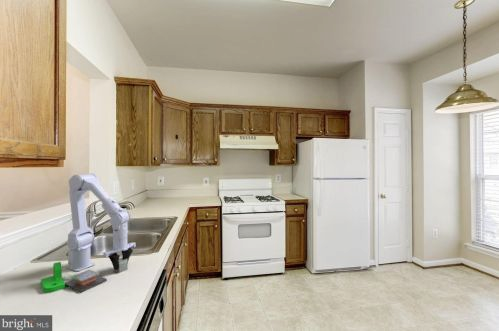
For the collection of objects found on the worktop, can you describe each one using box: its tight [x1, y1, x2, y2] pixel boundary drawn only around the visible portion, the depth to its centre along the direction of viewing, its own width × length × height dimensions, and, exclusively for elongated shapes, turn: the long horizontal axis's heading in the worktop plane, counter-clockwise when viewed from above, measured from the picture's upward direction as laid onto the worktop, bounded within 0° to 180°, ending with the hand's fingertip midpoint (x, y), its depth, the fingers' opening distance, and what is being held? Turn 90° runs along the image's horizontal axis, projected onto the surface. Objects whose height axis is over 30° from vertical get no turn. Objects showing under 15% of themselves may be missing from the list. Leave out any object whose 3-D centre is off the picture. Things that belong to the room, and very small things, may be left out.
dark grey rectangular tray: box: [64, 269, 108, 294], centre depth 97 cm, size 12×10×4 cm
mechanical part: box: [40, 261, 66, 294], centre depth 95 cm, size 12×6×8 cm, turn 47°
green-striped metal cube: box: [113, 256, 129, 274], centre depth 108 cm, size 4×4×5 cm
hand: (120, 267), depth 108 cm, fingers closed on green-striped metal cube, 4 cm apart
